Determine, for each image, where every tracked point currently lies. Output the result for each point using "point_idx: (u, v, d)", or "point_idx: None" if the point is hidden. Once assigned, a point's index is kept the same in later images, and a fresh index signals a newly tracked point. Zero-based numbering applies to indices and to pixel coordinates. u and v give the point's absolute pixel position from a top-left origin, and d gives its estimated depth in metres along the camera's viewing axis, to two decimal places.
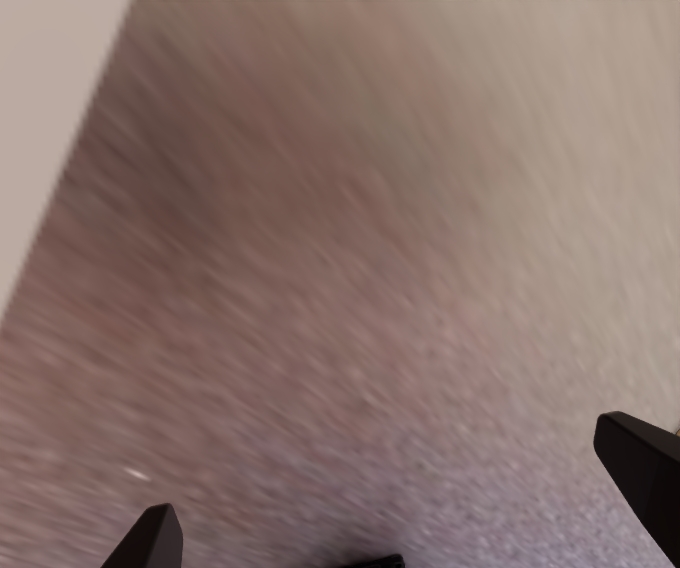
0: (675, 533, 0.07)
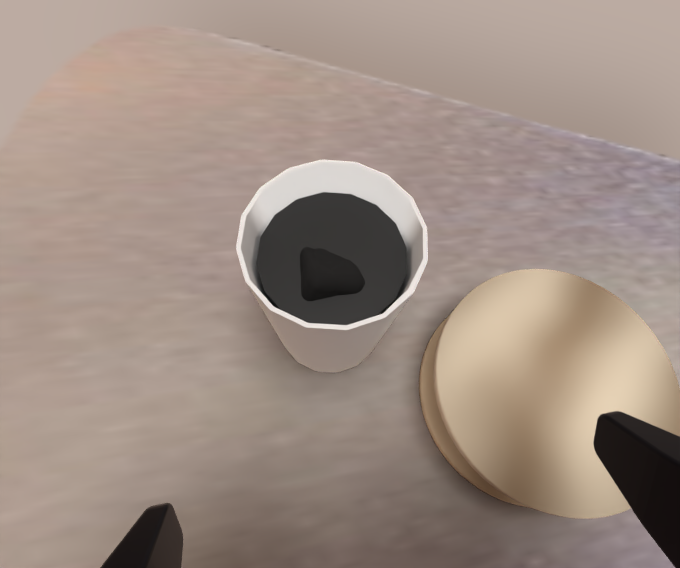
0: (675, 533, 0.07)
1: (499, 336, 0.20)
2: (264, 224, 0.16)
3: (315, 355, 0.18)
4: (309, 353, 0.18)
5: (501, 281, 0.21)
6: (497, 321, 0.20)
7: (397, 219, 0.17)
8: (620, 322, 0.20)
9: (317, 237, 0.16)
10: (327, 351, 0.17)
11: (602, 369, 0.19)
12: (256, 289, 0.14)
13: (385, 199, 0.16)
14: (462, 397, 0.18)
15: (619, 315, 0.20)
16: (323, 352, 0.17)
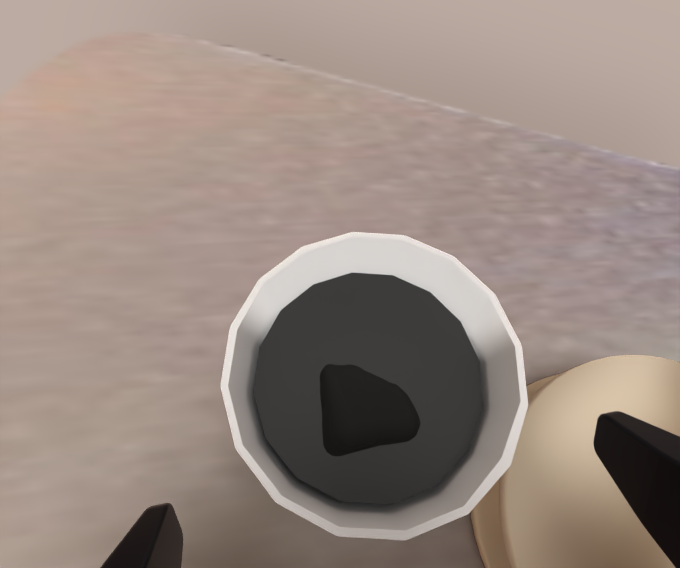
0: (675, 533, 0.07)
1: (590, 456, 0.14)
2: (266, 324, 0.11)
3: None
4: None
5: (586, 373, 0.15)
6: (585, 433, 0.14)
7: (462, 314, 0.11)
8: None
9: (345, 346, 0.11)
10: None
11: None
12: (253, 462, 0.08)
13: (445, 286, 0.11)
14: (545, 554, 0.13)
15: None
16: None
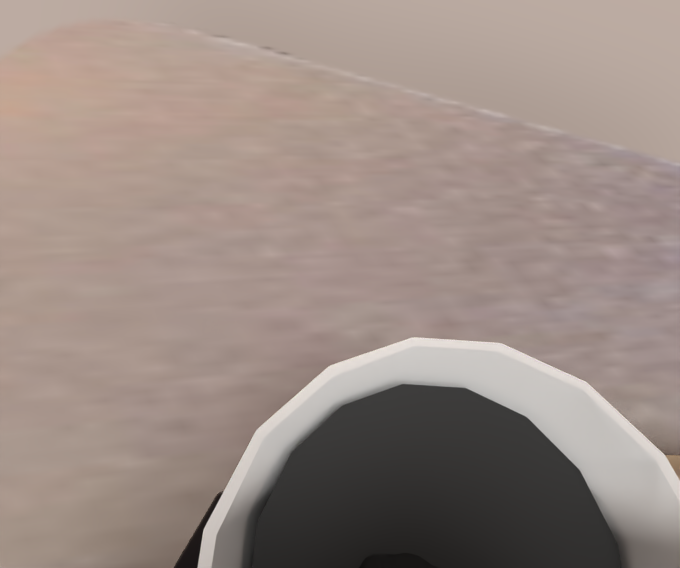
0: None
1: None
2: (267, 475, 0.07)
3: None
4: None
5: None
6: None
7: (580, 456, 0.07)
8: None
9: (397, 517, 0.07)
10: None
11: None
12: None
13: (556, 414, 0.07)
14: None
15: None
16: None
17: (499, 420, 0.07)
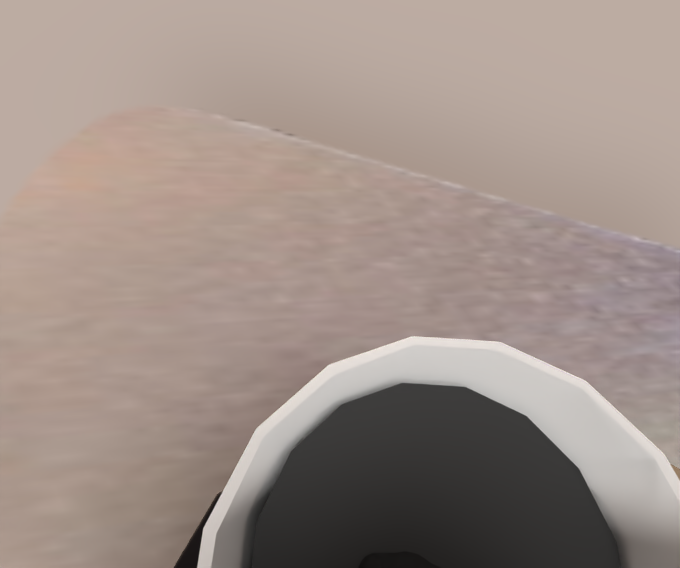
0: None
1: None
2: (267, 474, 0.07)
3: None
4: None
5: None
6: None
7: (579, 454, 0.07)
8: None
9: (397, 516, 0.07)
10: None
11: None
12: None
13: (555, 413, 0.07)
14: None
15: None
16: None
17: (498, 419, 0.07)
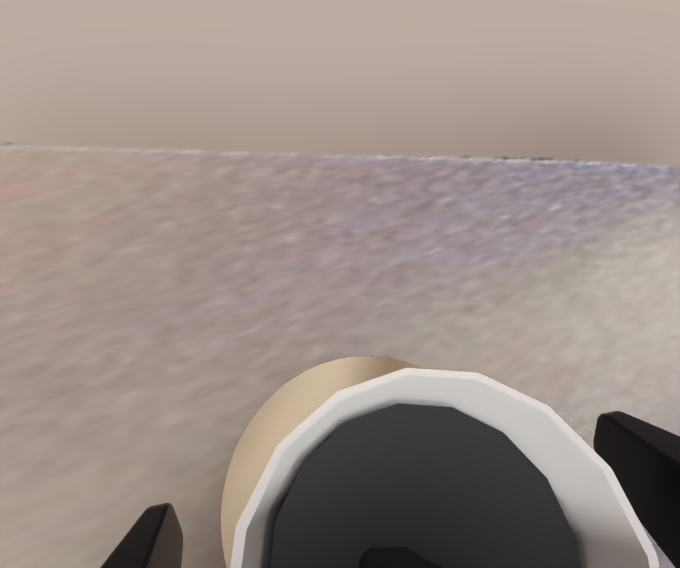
0: (675, 533, 0.07)
1: None
2: (283, 480, 0.08)
3: None
4: None
5: (286, 393, 0.17)
6: None
7: (548, 466, 0.08)
8: None
9: (392, 518, 0.08)
10: None
11: None
12: None
13: (527, 431, 0.08)
14: None
15: None
16: None
17: (480, 435, 0.08)
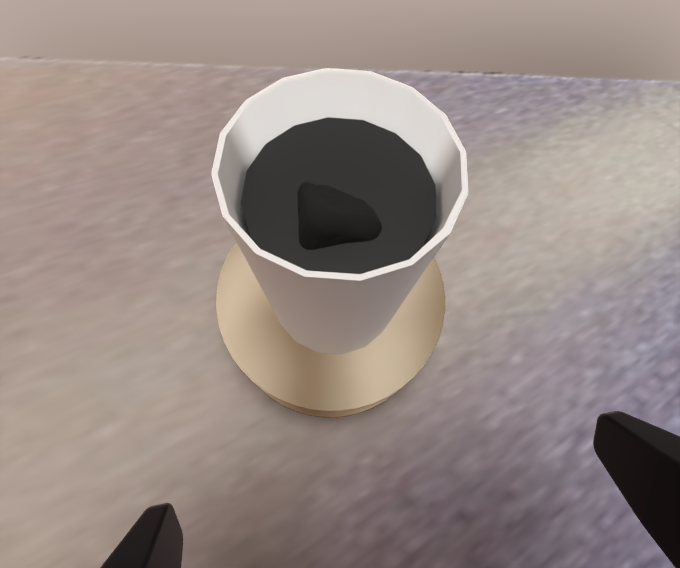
0: (675, 533, 0.07)
1: None
2: (252, 155, 0.13)
3: (317, 327, 0.14)
4: (309, 324, 0.14)
5: None
6: None
7: (422, 151, 0.13)
8: None
9: (320, 171, 0.12)
10: (332, 320, 0.13)
11: None
12: (237, 226, 0.10)
13: (407, 124, 0.13)
14: (243, 334, 0.19)
15: None
16: (327, 322, 0.14)
17: (380, 134, 0.13)
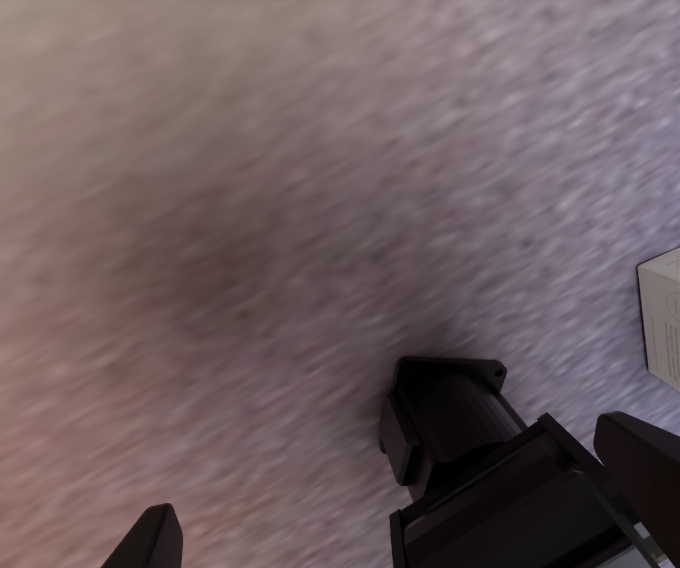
0: (675, 533, 0.07)
1: None
2: None
3: None
4: None
5: None
6: None
7: None
8: None
9: None
10: None
11: None
12: None
13: None
14: None
15: None
16: None
17: None
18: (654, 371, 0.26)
